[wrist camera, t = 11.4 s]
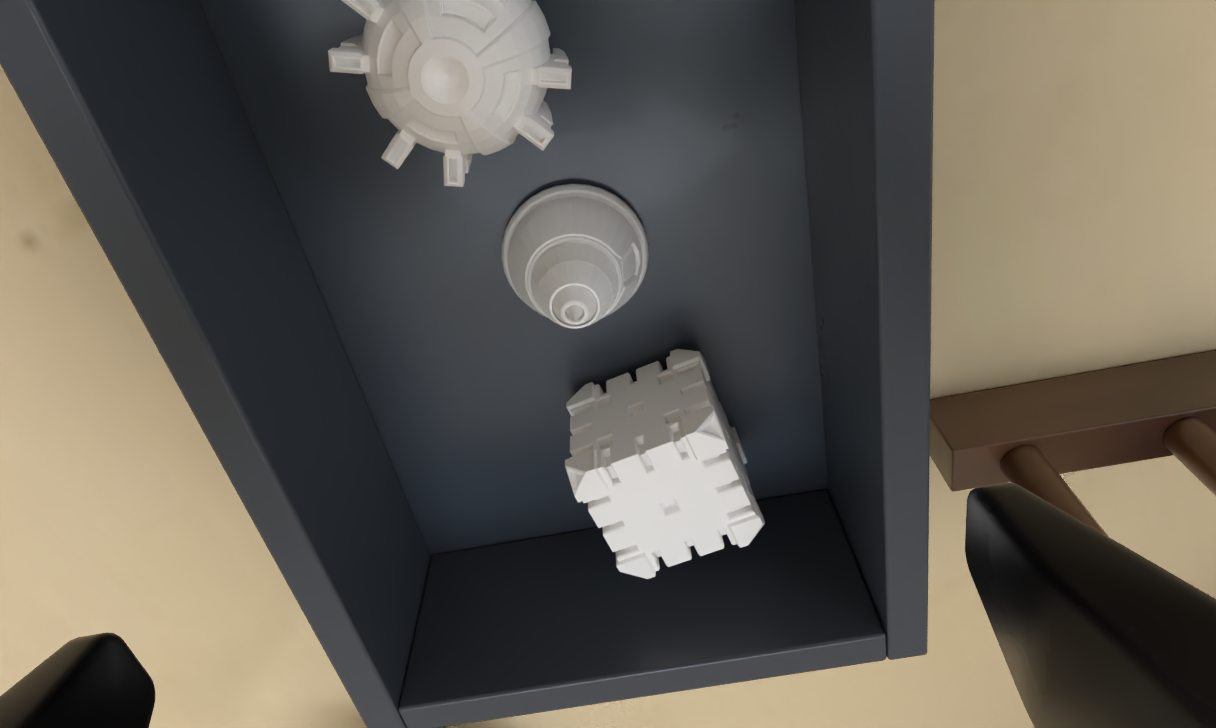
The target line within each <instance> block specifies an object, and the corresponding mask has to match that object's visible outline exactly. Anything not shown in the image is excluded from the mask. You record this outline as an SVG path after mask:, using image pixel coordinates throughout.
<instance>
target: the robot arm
mask: <svg viewBox="0 0 1216 728" xmlns="http://www.w3.org/2000/svg"><path fill="white" fill-rule="evenodd" d="M965 552H966V559H967V564H968V567H969V570H970V573H971V576H972V578H973V581H974V583H975V586H976V588H977V590H978V593H979V595H980V598H981V600H982V603H983V605H984V608H985V610H986V613H987V615H988V618H989V620H990V623H991V625H992V628H993V630H994V633H995V635H996V638H997V640H998V642H999V645H1000V647H1001V650H1002V652H1003V655H1004V657H1005V660H1006V662H1007V665H1008V667H1009V670H1010V672H1011V675H1012V677H1013V680H1014V682H1015V685H1016V687H1017V689H1018V692H1019V694H1020V696H1021V699H1022V701H1023V703H1024V706H1025V708H1026V711H1027V713H1028V715H1029V717H1030V719H1031V721H1032V723H1033V725H1034V727H1035V728H1216V599H1214V598H1213V597H1211V596H1209V595H1207V594H1206V593H1204V592H1202V591H1201V590H1199V589H1197V588H1195V587H1194V586H1192V585H1190V584H1188V583H1187V582H1185V581H1183V580H1182V579H1180V578H1178V577H1176V576H1175V575H1173V574H1171V573H1169V572H1168V571H1166V570H1164V569H1163V568H1161V567H1159V566H1157V565H1156V564H1154V563H1152V562H1150V561H1149V560H1147V559H1145V558H1144V557H1142V556H1140V555H1138V554H1137V553H1135V552H1133V551H1132V550H1130V549H1128V548H1126V547H1125V546H1123V545H1121V544H1119V543H1118V542H1116V541H1114V540H1113V539H1111V538H1109V537H1107V536H1106V535H1104V534H1102V533H1100V532H1099V531H1097V530H1095V529H1094V528H1092V527H1090V526H1088V525H1087V524H1085V523H1083V522H1081V521H1080V520H1078V519H1076V518H1075V517H1073V516H1071V515H1069V514H1068V513H1066V512H1064V511H1063V510H1061V509H1059V508H1057V507H1056V506H1054V505H1052V504H1050V503H1049V502H1047V501H1045V500H1044V499H1042V498H1040V497H1038V496H1037V495H1035V494H1033V493H1031V492H1030V491H1028V490H1026V489H1025V488H1023V487H1021V486H1019V485H1017V484H1014V483H1001V484H995V485H989V486H983V487H977V488H975V489H973V490H972V491H971V492H970V493H969V496H968V499H967V516H966V540H965ZM154 703H155V688H154V684H153V681H152V679H151V677H150V676H149V674H148V673H147V672H146V670H145V669H144V667H143V666H142V665H141V663H140V662H139V661H138V659H137V658H136V657H135V655H134V654H133V653H132V651H131V650H130V648H129V647H128V646H127V644H126V643H125V642H124V640H123V639H122V638H121V637H119V636H118V635H116V634H114V633H102V634H96V635H90V636H84V637H79V638H76V639H73V640H71V641H69V642H68V643H67V644H65V645H64V646H63V647H61V648H60V649H59V650H58V651H56V652H55V653H54V654H53V655H51V656H50V657H49V658H48V659H46V660H45V661H44V662H43V663H41V664H40V665H39V666H38V667H36V668H35V669H34V670H33V671H31V672H30V673H29V674H28V675H26V676H25V677H24V678H23V679H21V680H20V681H19V682H18V683H16V684H15V685H14V686H13V687H12V688H10V689H9V690H8V691H7V692H5V693H4V694H3V695H2V696H0V728H149V724H150V720H151V716H152V712H153V708H154Z"/></svg>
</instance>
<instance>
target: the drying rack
mask: <svg viewBox="0 0 1216 728" xmlns="http://www.w3.org/2000/svg"><path fill="white" fill-rule="evenodd" d="M929 455H930V456H931V458H932V460H933V461H934V463H935V464H936V466H937V468H938V469H939V471H940V473H941V474H942V476H943V478H944V479H945V481H946V483H947V484H948V486H949V488H950V489H951V491H959V490H966V489H972V488H977V487H983V486H989V485H995V484H1001V483H1008V482H1010V483H1014V484H1017V485H1019V486H1021V487H1023V488H1025V489H1026V490H1028V491H1030V492H1031V493H1033V494H1035V495H1037V496H1038V497H1040V498H1042V499H1044V500H1045V501H1047V502H1049V503H1050V504H1052V505H1054V506H1056V507H1057V508H1059V509H1061V510H1063V511H1064V512H1066V513H1068V514H1069V515H1071V516H1073V517H1075V518H1076V519H1078V520H1080V521H1081V522H1083V523H1085V524H1087V525H1088V526H1090V527H1092V528H1094V529H1095V530H1097V531H1099V532H1100V533H1102V534H1104V535H1106V536H1107V537H1108V535H1107V534H1106V533H1105V532H1104V530H1103V529H1102V528H1101V527H1100V525H1099V524H1098V523H1097V521H1096V520H1095V519H1094V518H1093V516H1092V515H1091V514H1090V513H1089V511H1088V510H1087V509H1086V508H1085V506H1084V505H1083V504H1082V503H1081V501H1080V500H1079V499H1078V498H1077V496H1076V495H1075V494H1074V493H1073V491H1072V490H1071V489H1070V488H1069V486H1068V485H1067V484H1066V483H1065V481H1064V480H1063V479H1062V478H1061V476H1060V475H1059V474H1062V473H1068V472H1074V471H1081V470H1087V469H1093V468H1099V467H1105V466H1111V465H1117V464H1123V463H1129V462H1135V461H1141V460H1147V459H1153V458H1159V457H1165V456H1171V455H1174V456H1176V457H1177V458H1178V459H1179V460H1180V461H1181V462H1182V463H1183V464H1184V465H1185V466H1186V467H1187V468H1188V469H1189V470H1190V471H1191V472H1192V473H1193V474H1194V475H1195V476H1196V477H1197V478H1198V479H1199V480H1200V481H1201V482H1202V483H1203V484H1204V485H1205V486H1206V487H1207V488H1208V489H1209V490H1210V491H1211V492H1212V493H1213V494H1214V495H1215V496H1216V350H1215V351H1209V352H1204V353H1198V354H1192V355H1186V356H1181V357H1175V358H1169V359H1163V360H1158V361H1152V362H1146V363H1140V364H1135V365H1129V366H1123V367H1117V368H1111V369H1106V370H1100V371H1094V372H1088V373H1083V374H1077V375H1071V376H1065V377H1060V378H1054V379H1048V380H1042V381H1037V382H1031V383H1025V384H1019V385H1014V386H1008V387H1002V388H996V389H991V390H985V391H979V392H973V393H967V394H962V395H956V396H950V397H944V398H939V399H933V400H930V443H929Z"/></svg>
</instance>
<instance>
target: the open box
mask: <svg viewBox="0 0 1216 728" xmlns="http://www.w3.org/2000/svg"><path fill="white" fill-rule="evenodd" d="M534 1H536V2H537V4H538V6H539V7H540V9H541V11H542V13H543V14H544V16H545V19H546V22H547V25H548V27H549V30H550V33H551V34H550V36H549V38H548V41H549V47H550V54H553V48H560V49H561V50H562V51H564V52H565V53H566V55H567V58H568V60H569V64H568V65H569V66H571V68H572V74H571V89H557V88H547V91H546V95H545V97H544V99H543V101H545V102H546V103H547V105H548V107H549V109H550V111H551V115H552V120H553V125H552V126H551V130H553V131H554V137H553V138H552V139H551V141H550V142H549V143H548V145H547V146H546V147H545V149H544V150H543V151H542V150H541V149H539V148H538V147H537V146H535V145H534V144H533V143H531V142H530V141H529V140H527V139H526V138H525V137H523V136H522V135H521V134H518V135H517V136H516V139H515V141H514V143H512V144H511V145H509V146H507V147H506V148H504V149H502V150H500V151H497V152H494V153H492V154H489V155H482V154H481V153H475V154H473V155H472V161H471V165H470V168H469V171H468V173H465V183H464V185H463V187H454V186H444V168H443V157H444V155H445V153H443V152H440V151H436V150H432V149H429V148H427V147H425V146H423V145H421V144H418V143H416V144H415V146H414V147H413V149H412V150H411V152H410V153H409V155H408V156H407V157H406V159H405V160H404V162H403V163H402V165H401V166H400V167H399V168H398V169H396V168H395V167H393V166H392V165H390V164H389V163H388V162H386V161H385V160H383V159H382V158H381V157H382V155H383V153H384V152H385V150H386V149H387V147H388V145H389V143H390V142H391V140H392V139H393V137H394V136H395V134H396V133H397V131H398V129H397V128H396V127H395V126H394V125H393V124H392V123H391V122H390V121H389V120H388V119H384V118H382V117H381V115H380V114H379V113H378V111H377V110H376V108H375V107H374V105H373V103H372V101H371V99H370V97H369V95H368V93H367V90H366V86H367V84H368V83H367V79H366V75H365V73H363V74H353V73H340V72H330V67H329V56H328V50H330V49H331V48H339V47H340V46H341V42H343V41H345V40H348V39H350V38H352V37H354V36H358V35H363V32H364V26H365V23H366V20H367V19H365V18H364V17H363V16H361V15H360V14H359V13H357V12H356V11H355V10H353V9H352V8H351V7H349V6H348V5H347V4H345V3H344V2H343V1H341V0H0V64H1V66H2V68H3V70H4V72H5V73H6V75H7V77H8V79H9V81H10V83H11V84H12V86H13V88H14V90H15V92H16V93H17V95H18V97H19V99H20V101H21V102H22V104H23V106H24V108H25V110H26V111H27V113H28V115H29V117H30V119H31V121H32V122H33V124H34V126H35V128H36V130H37V131H38V133H39V135H40V137H41V139H42V140H43V142H44V144H45V146H46V148H47V149H48V151H49V153H50V155H51V157H52V158H53V160H54V162H55V164H56V166H57V168H58V169H59V171H60V173H61V175H62V177H63V178H64V180H65V182H66V184H67V186H68V187H69V189H70V191H71V193H72V195H73V196H74V198H75V200H76V202H77V204H78V206H79V207H80V209H81V211H82V213H83V215H84V216H85V218H86V220H87V222H88V224H89V225H90V227H91V229H92V231H93V233H94V234H95V236H96V238H97V240H98V242H99V243H100V245H101V247H102V249H103V251H104V253H105V254H106V256H107V258H108V260H109V262H110V263H111V265H112V267H113V269H114V271H115V272H116V274H117V276H118V278H119V280H120V281H121V283H122V285H123V287H124V289H125V291H126V292H127V294H128V296H129V298H130V300H131V301H132V303H133V305H134V307H135V309H136V310H137V312H138V314H139V316H140V318H141V319H142V321H143V323H144V325H145V327H146V329H147V330H148V332H149V334H150V336H151V338H152V339H153V341H154V343H155V345H156V347H157V348H158V350H159V352H160V354H161V356H162V357H163V359H164V361H165V363H166V365H167V366H168V368H169V370H170V372H171V374H172V376H173V377H174V379H175V381H176V383H177V385H178V386H179V388H180V390H181V392H182V394H183V395H184V397H185V399H186V401H187V403H188V404H189V406H190V408H191V410H192V412H193V414H194V415H195V417H196V419H197V421H198V423H199V424H200V426H201V428H202V430H203V432H204V433H205V435H206V437H207V439H208V441H209V442H210V444H211V446H212V448H213V450H214V452H215V453H216V455H217V457H218V459H219V461H220V462H221V464H222V466H223V468H224V470H225V471H226V473H227V475H228V477H229V479H230V480H231V482H232V484H233V486H234V488H235V489H236V491H237V493H238V495H239V497H240V499H241V500H242V502H243V504H244V506H245V508H246V509H247V511H248V513H249V515H250V517H251V518H252V520H253V522H254V524H255V526H256V527H257V529H258V531H259V533H260V535H261V537H262V538H263V540H264V542H265V544H266V546H267V547H268V549H269V551H270V553H271V555H272V556H273V558H274V560H275V562H276V564H277V565H278V567H279V569H280V571H281V573H282V574H283V576H284V578H285V580H286V582H287V584H288V585H289V587H290V589H291V591H292V593H293V594H294V596H295V598H296V600H297V602H298V603H299V605H300V607H301V609H302V611H303V612H304V614H305V616H306V618H307V620H308V622H309V623H310V625H311V627H312V629H313V631H314V632H315V634H316V636H317V638H318V640H319V641H320V643H321V645H322V647H323V649H324V650H325V652H326V654H327V656H328V658H329V660H330V661H331V663H332V665H333V667H334V669H335V670H336V672H337V674H338V676H339V678H340V679H341V681H342V683H343V685H344V687H345V688H346V690H347V692H348V694H349V696H350V697H351V699H352V701H353V703H354V705H355V707H356V708H357V710H358V712H359V714H360V716H361V717H362V719H363V721H364V723H365V725H366V726H367V728H440V727H446V726H453V725H459V724H466V723H473V722H479V721H486V720H492V719H499V718H506V717H512V716H519V715H526V714H532V713H539V712H545V711H552V710H559V709H565V708H572V707H578V706H585V705H592V704H598V703H605V702H611V701H618V700H625V699H631V698H638V697H644V696H651V695H658V694H664V693H671V692H677V691H684V690H691V689H697V688H704V687H710V686H717V685H724V684H730V683H737V682H744V681H750V680H757V679H763V678H770V677H777V676H783V675H790V674H796V673H803V672H810V671H816V670H823V669H829V668H836V667H843V666H849V665H856V664H862V663H869V662H876V661H882V660H885V659H886V656H887V657H888V659H890V660H893V659H899V658H906V657H912V656H919V655H925V654H927V626H928V535H929V443H930V352H931V261H932V169H933V78H934V0H534ZM565 184H586V185H591V186H594V187H598V188H602V189H604V190H606V191H608V192H610V193H612V194H614V195H616V196H617V197H618V198H620V199H621V200H622V201H624V202H625V203H626V204H627V205H628V206H629V207H630V208H631V209H632V210H633V211H634V213H635V214H636V215H637V217H638V219H639V220H640V222H641V224H642V226H643V228H644V232H645V235H646V238H647V243H648V253H649V256H648V264H647V270H646V273H645V276H644V279H643V281H642V283H641V284H640V286H639V288H638V290H637V291H636V293H635V294H634V295H633V296H632V297H631V298H630V299H629V301H628V302H626V303H625V304H624V305H623V306H621V307H620V308H619V309H617V310H616V311H615V312H613V313H612V314H610V315H608V316H606V317H604V318H602V319H600V320H598V321H597V322H595V323H593V324H592V325H589V326H586V327H583V328H577V329H573V328H567V327H563V326H561V325H559V324H556V323H555V322H553V321H552V320H550V319H549V318H547V317H545V316H542V315H541V314H539V313H538V312H536V311H535V310H533V309H532V308H531V307H529V306H528V305H527V304H526V303H524V302H523V301H522V300H521V299H520V298H519V297H518V296H517V294H516V293H515V292H514V290H513V289H512V287H511V286H510V284H509V282H508V280H507V277H506V275H505V273H504V268H503V263H502V242H503V238H504V234H505V230H506V228H507V225H508V223H509V221H510V219H511V217H512V216H513V215H514V213H515V212H516V211H517V209H518V208H519V207H520V206H521V205H522V204H523V203H524V202H526V201H527V200H528V199H529V198H530V197H532V196H534V195H535V194H537V193H539V192H541V191H542V190H545V189H548V188H551V187H554V186H557V185H565ZM675 349H684V350H692V351H699V352H700V353H701V354H702V356H703V357H704V359H705V361H706V363H707V367H708V371H709V375H710V378H711V379H710V381H711V383H712V385H713V387H714V390H715V392H716V394H717V397H718V401H719V402H720V403H721V405H722V408H723V410H724V412H725V414H726V417H727V419H728V423H729V426H731V428H732V427H735V429H736V432H737V434H738V437H739V440H740V442H741V445H742V448H743V450H744V453H745V456H746V459H747V462H748V463H745V465H744V466H745V468H746V471H747V474H748V478H749V481H750V487H751V489H752V492H753V495H754V498H755V500H756V502H757V504H758V507H759V509H760V511H761V513H762V515H763V518H764V521H765V524H764V525H763V527H762V528H761V529H760V531H759V532H758V533H757V535H756V536H755V537H754V539H753V540H752V541H751V543H750V544H749V545H748V546H745V547H742V548H740V547H739V546H738V545H737V544H736V545H732V544H731V542H730V540H729V538H728V536H727V534H726V535H723V536H722V537H723V542H724V549H721V550H718V551H715V552H712V553H709V554H706V555H703V556H700V555H699V554H698V553H697V551H696V549H695V547H694V545H693V546H690V549H691V555H692V558H691V560H688V561H685V562H682V563H679V564H676V565H673V566H670V567H668V566H666V564H665V562H664V560H663V558H662V557H659V565H660V569H659V571H656V576H655V577H653V578H650V579H645V578H641V577H638V576H634V575H630V574H626V573H622V572H619V570H618V568H617V567H616V553H615V552H612V550H611V548H610V547H609V545H608V543H607V542H606V540H605V538H604V537H603V527H601V528H598V526H597V525H596V523H595V521H594V520H593V518H592V516H591V515H590V513H589V511H588V502H587V503H583V501H581V502H579V503H578V501H577V500H576V498H575V496H574V493H573V490H572V487H571V483H570V480H569V477H568V474H567V470H566V467H565V460H566V459H569V458H570V457H573V456H572V454H571V453H570V436H573V435H572V433H571V431H570V417H571V415H570V413H569V411H568V409H567V408H566V403H567V402H568V401H569V400H570V399H571V398H572V397H573V396H574V395H575V394H576V393H577V392H578V391H579V390H580V389H581V388H582V387H583V386H584V385H585V384H588V383H590V382H593V384H594V385H597V384H599V385H600V386H601V388H602V390H603V392H604V393H607V392H606V381H607V380H610V379H612V378H615V377H617V376H620V375H623V374H625V373H629V374H630V376H631V378H632V380H633V382H635V381H637V378H636V369H638V368H641V367H643V366H646V365H648V364H651V363H653V362H656V361H659V362H660V364H661V366H662V368H663V370H666V369H668V368H667V362H666V358H667V357H669V356H670V351H673V350H675Z"/></svg>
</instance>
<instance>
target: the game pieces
mask: <svg viewBox="0 0 1216 728" xmlns="http://www.w3.org/2000/svg"><path fill="white" fill-rule="evenodd" d="M341 1H343V2H344V3H345V4H347V5H348V6H349V7H351V8H352V9H353V10H355V11H356V12H357V13H359V14H360V15H361V16H363V17H364V18H365V19H367V20H366V23H365V26H364V32H363V35H358V36H354V37H352V38H350V39H348V40H345V41H343V42H341V46H340V47H339V48H331V49H330V50H328V56H329V67H330V72H340V73H353V74H363V73H365V75H366V79H367V83H368V84H367V86H366V90H367V93H368V95H369V97H370V99H371V101H372V103H373V105H374V107H375V108H376V110H377V111H378V113H379V114H380V115H381V117H382V118H384V119H388V120H389V121H390V122H391V123H392V124H393V125H394V126H395V127H396V128H397V129H398V131H397V133H396V134H395V136H394V137H393V139H392V140H391V142H390V143H389V145H388V147H387V149H386V150H385V152H384V153H383V155H382V157H381V158H382V159H383V160H385V161H386V162H388V163H389V164H390V165H392V166H393V167H395V168H396V169H398V168H399V167H400V166H401V165H402V163H403V162H404V160H405V159H406V157H407V156H408V155H409V153H410V152H411V150H412V149H413V147H414V146H415V144H416V143H418V144H421V145H423V146H425V147H427V148H429V149H432V150H436V151H440V152H443V153H445V155H444V157H443V168H444V186H454V187H463V185H464V183H465V173H468V171H469V168H470V165H471V161H472V155H473V154H475V153H481V154H482V155H489V154H492V153H494V152H497V151H500V150H502V149H504V148H506V147H507V146H509V145H511V144H512V143H514V141H515V139H516V136H517V135H518V134H521V135H522V136H523V137H525V138H526V139H527V140H529V141H530V142H531V143H533V144H534V145H535V146H537V147H538V148H539V149H541V150H542V151H543V150H544V149H545V147H546V146H547V145H548V143H549V142H550V141H551V139H552V138H553V137H554V131H553V130H551V126H552V125H553V120H552V115H551V111H550V109H549V107H548V105H547V103H546V102H545V101H543V99H544V97H545V95H546V91H547V88H557V89H571V74H572V68H571V66H569V65H568V64H569V60H568V58H567V55H566V53H565V52H564V51H562V50H561V49H560V48H553V54H550V47H549V41H548V38H549V36H550V34H551V33H550V30H549V27H548V25H547V22H546V19H545V16H544V14H543V13H542V11H541V9H540V7H539V6H538V4H537V2H536V1H534V0H341ZM648 256H649V253H648V243H647V238H646V235H645V232H644V228H643V226H642V224H641V222H640V220H639V219H638V217H637V215H636V214H635V213H634V211H633V210H632V209H631V208H630V207H629V206H628V205H627V204H626V203H625V202H624V201H622V200H621V199H620V198H618V197H617V196H616V195H614V194H612V193H610V192H608V191H606V190H604V189H602V188H598V187H594V186H591V185H586V184H565V185H557V186H554V187H551V188H548V189H545V190H542V191H541V192H539V193H537V194H535V195H534V196H532V197H530V198H529V199H528V200H527V201H526V202H524V203H523V204H522V205H521V206H520V207H519V208H518V209H517V211H516V212H515V213H514V215H513V216H512V217H511V219H510V221H509V223H508V225H507V228H506V230H505V234H504V238H503V242H502V263H503V268H504V273H505V275H506V277H507V280H508V282H509V284H510V286H511V287H512V289H513V290H514V292H515V293H516V294H517V296H518V297H519V298H520V299H521V300H522V301H523V302H524V303H526V304H527V305H528V306H529V307H531V308H532V309H533V310H535V311H536V312H538V313H539V314H541V315H542V316H545V317H547V318H549V319H550V320H552V321H553V322H555V323H556V324H559V325H561V326H563V327H567V328H573V329H577V328H583V327H586V326H589V325H592V324H593V323H595V322H597V321H598V320H600V319H602V318H604V317H606V316H608V315H610V314H612V313H613V312H615V311H616V310H617V309H619V308H620V307H621V306H623V305H624V304H625V303H626V302H628V301H629V299H630V298H631V297H632V296H633V295H634V294H635V293H636V291H637V290H638V288H639V286H640V284H641V283H642V281H643V279H644V276H645V273H646V270H647V264H648ZM666 362H667V368H668V369H666V370H663V368H662V366H661V364H660V362H659V361H656V362H653V363H651V364H648V365H646V366H643V367H641V368H638V369H636V378H637V381H635V382H633V380H632V378H631V376H630V374H629V373H625V374H623V375H620V376H617V377H615V378H612V379H610V380H607V381H606V392H607V393H604V392H603V390H602V388H601V386H600V385H599V384H597V385H594V384H593V382H590V383H588V384H585V385H584V386H583V387H582V388H581V389H580V390H579V391H578V392H577V393H576V394H575V395H574V396H573V397H572V398H571V399H570V400H569V401H568V402H567V403H566V408H567V409H568V411H569V413H570V415H571V417H570V431H571V433H572V435H573V436H570V453H571V454H572V456H573V457H570V458H569V459H566V460H565V467H566V470H567V474H568V477H569V480H570V483H571V487H572V490H573V493H574V496H575V498H576V500H577V501H578V503H579V502H581V501H583V503H587V502H588V511H589V513H590V515H591V516H592V518H593V520H594V521H595V523H596V525H597V526H598V528H601V527H603V537H604V538H605V540H606V542H607V543H608V545H609V547H610V548H611V550H612V552H615V553H616V567H617V568H618V570H619V572H622V573H626V574H630V575H634V576H638V577H641V578H645V579H650V578H653V577H655V576H656V571H659V569H660V565H659V557H662V558H663V560H664V562H665V564H666V566H668V567H670V566H673V565H676V564H679V563H682V562H685V561H688V560H691V558H692V555H691V549H690V546H693V545H694V547H695V549H696V551H697V553H698V554H699V555H700V556H703V555H706V554H709V553H712V552H715V551H718V550H721V549H724V542H723V537H722V536H723V535H726V534H727V536H728V538H729V540H730V542H731V544H732V545H736V544H737V545H738V546H739V547H740V548H742V547H745V546H748V545H749V544H750V543H751V541H752V540H753V539H754V537H755V536H756V535H757V533H758V532H759V531H760V529H761V528H762V527H763V525H764V524H765V521H764V518H763V515H762V513H761V511H760V509H759V507H758V504H757V502H756V500H755V498H754V495H753V492H752V489H751V487H750V481H749V478H748V474H747V471H746V468H745V466H744V465H745V463H748V462H747V459H746V456H745V453H744V450H743V448H742V445H741V442H740V440H739V437H738V434H737V432H736V429H735V427H732V428H731V426H729V423H728V419H727V417H726V414H725V412H724V410H723V408H722V405H721V403H720V402H719V401H718V397H717V394H716V392H715V390H714V387H713V385H712V383H711V381H710V379H711V378H710V375H709V371H708V367H707V363H706V361H705V359H704V357H703V356H702V354H701V353H700V352H699V351H692V350H684V349H675V350H673V351H670V356H669V357H667V358H666Z"/></svg>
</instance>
